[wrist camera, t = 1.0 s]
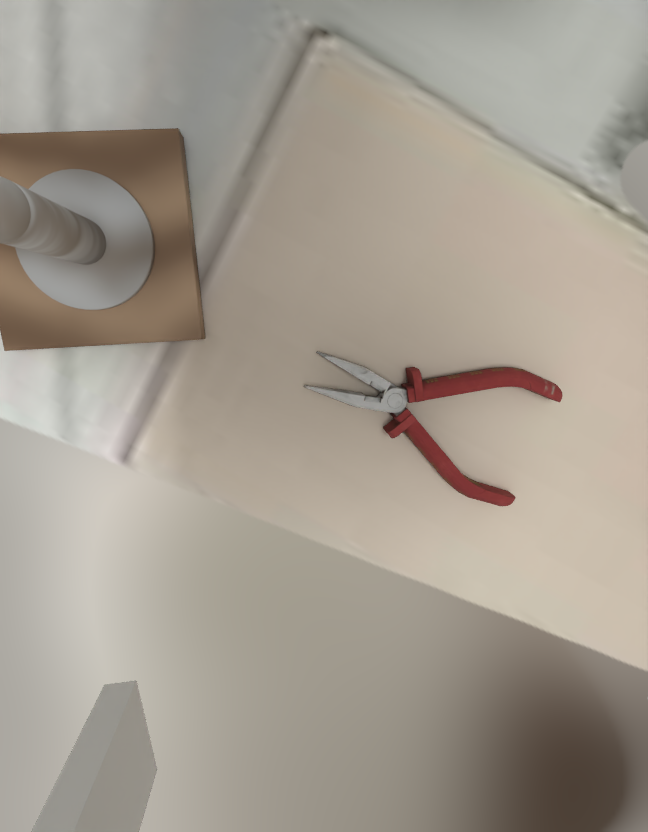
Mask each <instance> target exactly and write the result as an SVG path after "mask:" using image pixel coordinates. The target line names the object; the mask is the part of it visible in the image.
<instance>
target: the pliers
mask: <svg viewBox="0 0 648 832" xmlns="http://www.w3.org/2000/svg"><path fill="white" fill-rule="evenodd" d="M316 353H318V354H319V355H321V356H322V357H324V358H326V359H327V360H329V361H331V362H332V363H334V364H336V365H337V366H339V367H341V368H342V369H344V370H345V371H347V372H349V373H350V374H352V375H354V376H355V377H357V378H359V379H360V380H362V381H364V382H365V383H367V384H368V385H371V386H372V387H374V388H376V389H377V390H379V391H380V394H379V395H377V398H376V397H369V396H365V395H364V394H363V393H360V392H353V391H346V390H339V389H331V388H324V387H316V386H308V385H304V387H305V388H308V389H310V390H313V391H315V392H318V393H320V394H323V395H326V396H328V397H331V398H333V399H336V400H338V401H341V402H343V403H346V404H348V405H351V406H355V407H359V408H365V409H370V410H376V411H383V412H390V414H391V415H392V417H393V418H394V419H393V420H391V421H390V422H389V423H388V424H387V425H385V426H384V427H383V428H384V430H385V431H386V432H387V433H388V435H389V436H390V437H391V438H395V437H397V436H398V435H400V434H401V433H402V432H403V431H404V433H405V434H406V435H407V436H408V437H409V438H410V440H411V441H412V442H413V443H414V444H415V446H416V447H417V448H418V449H419V450H420V451H421V453H422V454H423V455H424V456H425V457H426V459H427V460H428V461H429V462H430V463H431V464H432V466H433V467H434V468H435V469H436V470H437V472H438V473H439V474H440V475H441V476H442V477H443V479H444V480H445V481H446V482H447V483H449V484H450V485H451V486H452V487H453V488H454V489H455V490H457V491H458V492H459V493H461V494H463V495H465V496H467V497H469V498H473V499H477V500H480V501H484V502H487V503H491V504H495V505H498V506H508V505H510V504H512V503H513V501H514V499H515V496H514V495H513V494H511V493H510V492H508V491H506V490H502V489H499V488H496V487H493V486H489V485H486V484H483V483H479V482H476V481H474V480H471V479H469V478H468V477H466V476H464V475H463V474H462V473H460V471H459V470H458V469H457V468H456V467H455V465H454V464H453V463H452V462H451V460H450V459H449V458H448V457H447V456H446V454H445V453H444V452H443V451H442V450H441V448H440V447H439V446H438V445H437V444H436V442H435V441H434V440H433V439H432V438H431V436H430V435H429V434H428V433H427V432H426V430H425V429H424V428H423V427H422V426H421V424H420V423H419V422H418V421H417V419H416V418H415V417H414V416H413V415H412V414H411V413H410V411H409V410H408V409H407V408H406V405H407V402H409V403H412V402H420V401H424V400H429V399H435V398H440V397H446V396H452V395H457V394H463V393H469V392H474V391H480V390H486V389H491V388H497V387H510V386H512V387H522V388H525V389H527V390H529V391H532V392H534V393H537V394H539V395H542V396H544V397H547V398H549V399H552V400H555V401H558V402H560V401H561V399H562V391H561V389H560V388H559V387H558V386H557V385H556V384H554V383H552V382H550V381H548V380H546V379H543V378H541V377H539V376H536V375H534V374H532V373H530V372H527V371H525V370H523V369H518V368H508V367H504V368H490V369H483V370H478V371H472V372H466V373H461V374H455V375H449V376H443V377H438V378H432V379H426V380H422V377H421V373H420V370H419V369H417V368H415V367H410V368H406V373H407V381H408V383H405V384H401V386H402V388H399V387H397V386H396V385H394V384H392V383H390V382H389V381H387V380H385V379H384V378H382V377H381V376H379V375H377V374H376V373H374V372H372V371H371V370H369V369H367V368H365V367H363V366H360V365H357V364H354V363H351V362H348V361H345V360H342V359H339V358H336V357H333V356H330V355H327V354H324V353H321V352H318V351H317V352H316Z"/></svg>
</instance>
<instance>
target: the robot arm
mask: <svg viewBox="0 0 648 832" xmlns="http://www.w3.org/2000/svg"><path fill="white" fill-rule="evenodd" d="M156 771H157V767H156V762H155V758H154V754H153V750H152V745H151V741H150V736H149V733H148V728H147V724H146V719H145V715H144V711H143V706H142V702H141V698H140V694H139V689H138V685H137V681H130V682H122V683H115V684H107V685H104V687H103V689H102V691H101V693H100V695H99V697H98V699H97V701H96V703H95V705H94V707H93V709H92V711H91V713H90V715H89V717H88V719H87V721H86V723H85V725H84V727H83V729H82V731H81V733H80V735H79V737H78V739H77V741H76V743H75V745H74V747H73V749H72V751H71V753H70V755H69V757H68V759H67V761H66V763H65V765H64V767H63V769H62V771H61V773H60V775H59V777H58V779H57V781H56V783H55V785H54V787H53V789H52V791H51V793H50V795H49V797H48V799H47V802H46V803H45V805H44V807H43V809H42V812H41V813H40V815H39V818H38V819H37V821H36V823H35V825H34V828H33V829H32V831H31V832H139V830H140V826H141V823H142V819H143V816H144V813H145V809H146V806H147V802H148V799H149V796H150V792H151V789H152V785H153V782H154V778H155V775H156Z"/></svg>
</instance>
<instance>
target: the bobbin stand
mask: <svg viewBox="0 0 648 832" xmlns="http://www.w3.org/2000/svg"><path fill="white" fill-rule="evenodd" d="M0 331H1V336H2V340H3V345H4V350H5V351H9V350H26V349H44V348H61V347H78V346H96V345H113V344H130V343H148V342H165V341H182V340H200V339H205V331H204V322H203V312H202V303H201V294H200V285H199V276H198V267H197V258H196V248H195V239H194V230H193V221H192V212H191V203H190V194H189V184H188V175H187V166H186V157H185V148H184V139H183V136H182V134H181V132H180V131H179V129H178V128H177V129H144V130H110V131H76V132H42V133H9V134H0Z"/></svg>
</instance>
